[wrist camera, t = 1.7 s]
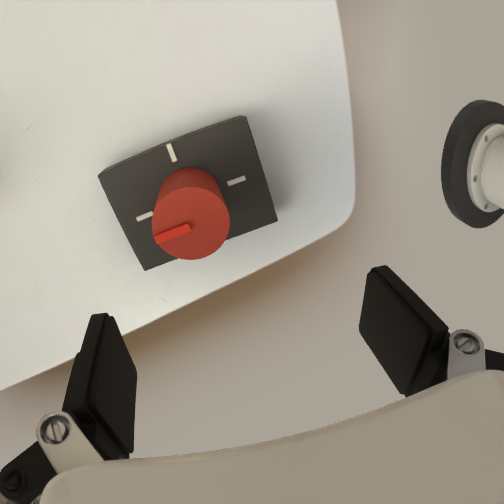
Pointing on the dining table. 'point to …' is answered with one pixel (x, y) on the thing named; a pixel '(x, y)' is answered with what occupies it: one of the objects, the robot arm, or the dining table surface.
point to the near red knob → (190, 215)
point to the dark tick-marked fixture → (190, 156)
